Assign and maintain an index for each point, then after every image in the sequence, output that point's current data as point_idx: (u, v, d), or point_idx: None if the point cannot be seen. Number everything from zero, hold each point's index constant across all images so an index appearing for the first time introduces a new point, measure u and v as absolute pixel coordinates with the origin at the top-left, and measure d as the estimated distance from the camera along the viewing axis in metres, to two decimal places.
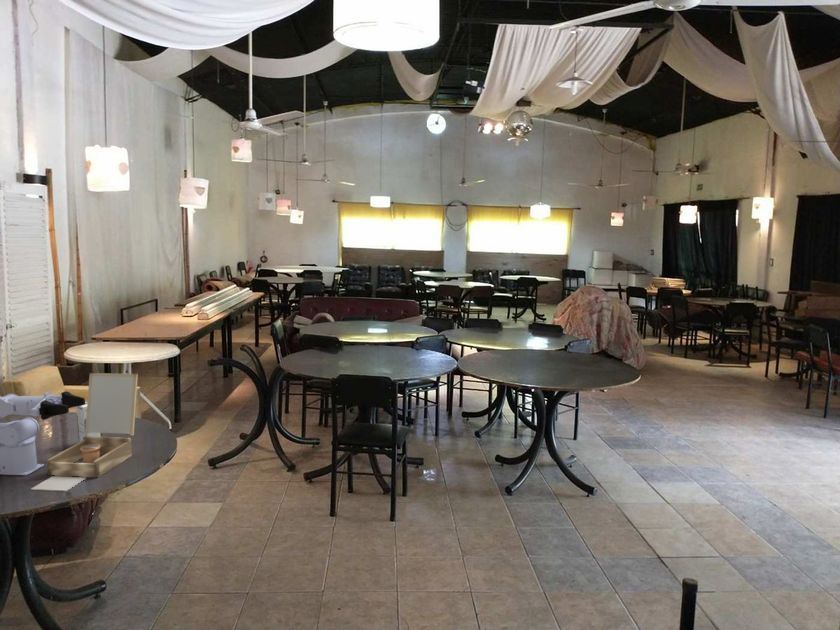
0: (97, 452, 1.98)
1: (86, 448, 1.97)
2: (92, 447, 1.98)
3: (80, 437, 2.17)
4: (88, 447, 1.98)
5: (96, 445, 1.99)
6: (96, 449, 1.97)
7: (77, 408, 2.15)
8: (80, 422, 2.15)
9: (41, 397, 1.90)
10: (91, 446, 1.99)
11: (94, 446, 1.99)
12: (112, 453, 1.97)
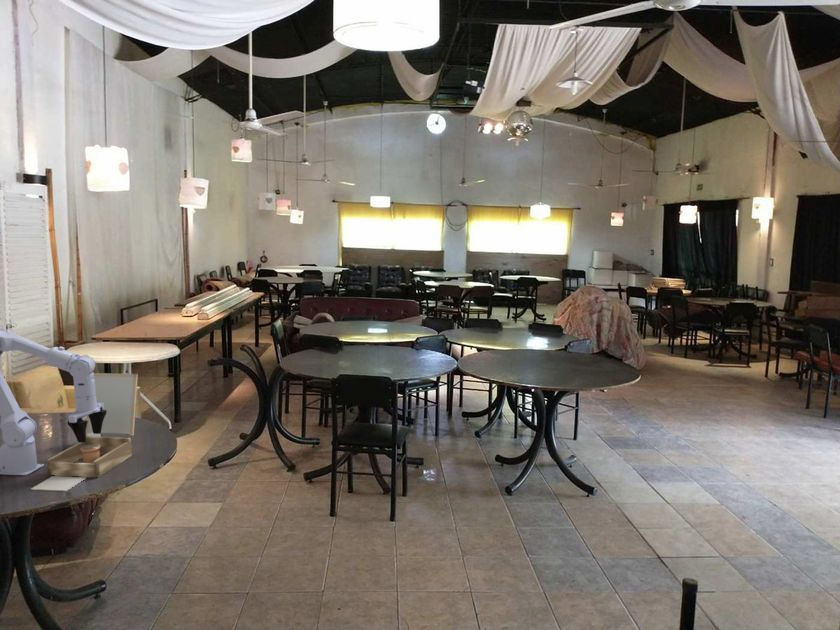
0: (97, 452, 1.98)
1: (86, 448, 1.97)
2: (92, 447, 1.98)
3: None
4: (88, 447, 1.98)
5: (96, 445, 1.99)
6: (96, 449, 1.97)
7: None
8: None
9: (93, 406, 1.95)
10: (91, 446, 1.99)
11: (94, 446, 1.99)
12: (112, 453, 1.97)
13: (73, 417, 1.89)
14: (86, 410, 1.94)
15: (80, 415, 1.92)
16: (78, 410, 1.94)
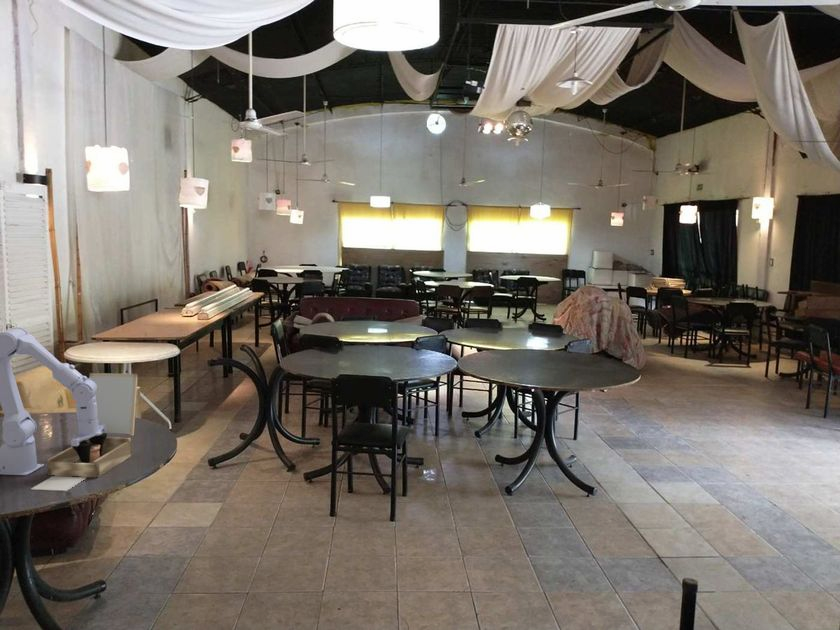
0: (97, 452, 1.98)
1: None
2: (92, 447, 1.98)
3: None
4: None
5: (96, 445, 1.99)
6: (96, 449, 1.97)
7: None
8: None
9: (95, 429, 1.96)
10: (91, 446, 1.99)
11: (94, 446, 1.99)
12: (112, 453, 1.97)
13: (75, 441, 1.91)
14: (88, 433, 1.95)
15: (82, 438, 1.93)
16: (80, 433, 1.95)
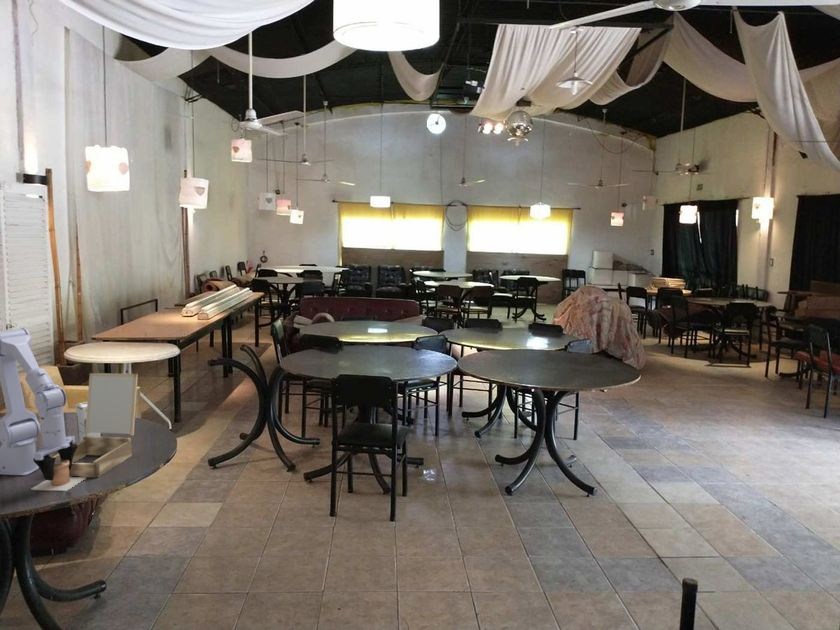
0: (66, 469, 1.84)
1: (54, 464, 1.83)
2: (60, 463, 1.84)
3: (80, 437, 2.17)
4: (56, 463, 1.84)
5: (65, 461, 1.86)
6: (65, 465, 1.84)
7: (77, 408, 2.15)
8: (80, 422, 2.15)
9: (61, 441, 1.82)
10: (59, 462, 1.85)
11: (63, 462, 1.85)
12: (112, 453, 1.97)
13: (39, 454, 1.76)
14: (54, 446, 1.81)
15: (47, 452, 1.78)
16: (45, 446, 1.81)
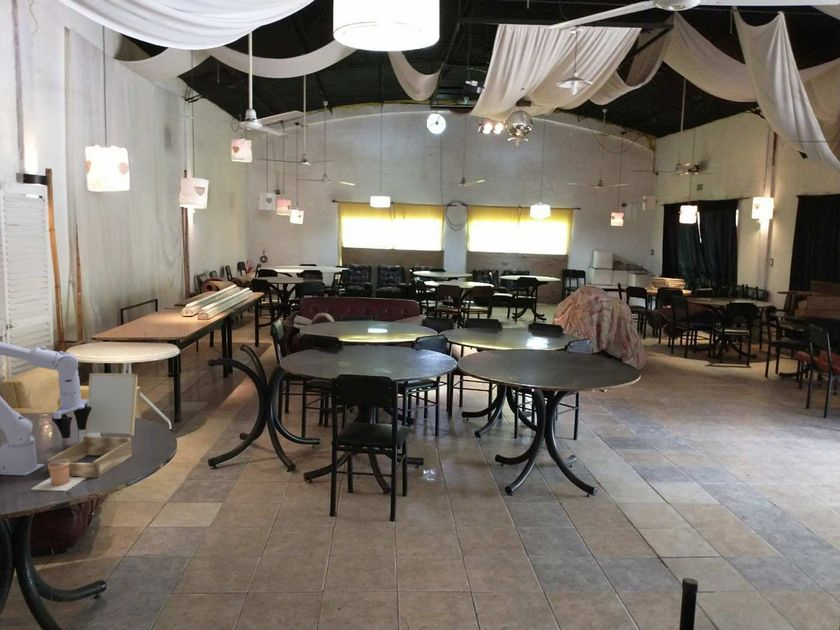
0: (66, 469, 1.84)
1: (54, 464, 1.83)
2: (60, 463, 1.84)
3: (80, 437, 2.17)
4: (56, 463, 1.84)
5: (65, 461, 1.86)
6: (65, 465, 1.84)
7: None
8: None
9: (77, 403, 1.98)
10: (59, 462, 1.85)
11: (63, 462, 1.85)
12: (112, 453, 1.97)
13: (57, 413, 1.92)
14: (71, 406, 1.97)
15: (64, 411, 1.94)
16: (63, 406, 1.97)
